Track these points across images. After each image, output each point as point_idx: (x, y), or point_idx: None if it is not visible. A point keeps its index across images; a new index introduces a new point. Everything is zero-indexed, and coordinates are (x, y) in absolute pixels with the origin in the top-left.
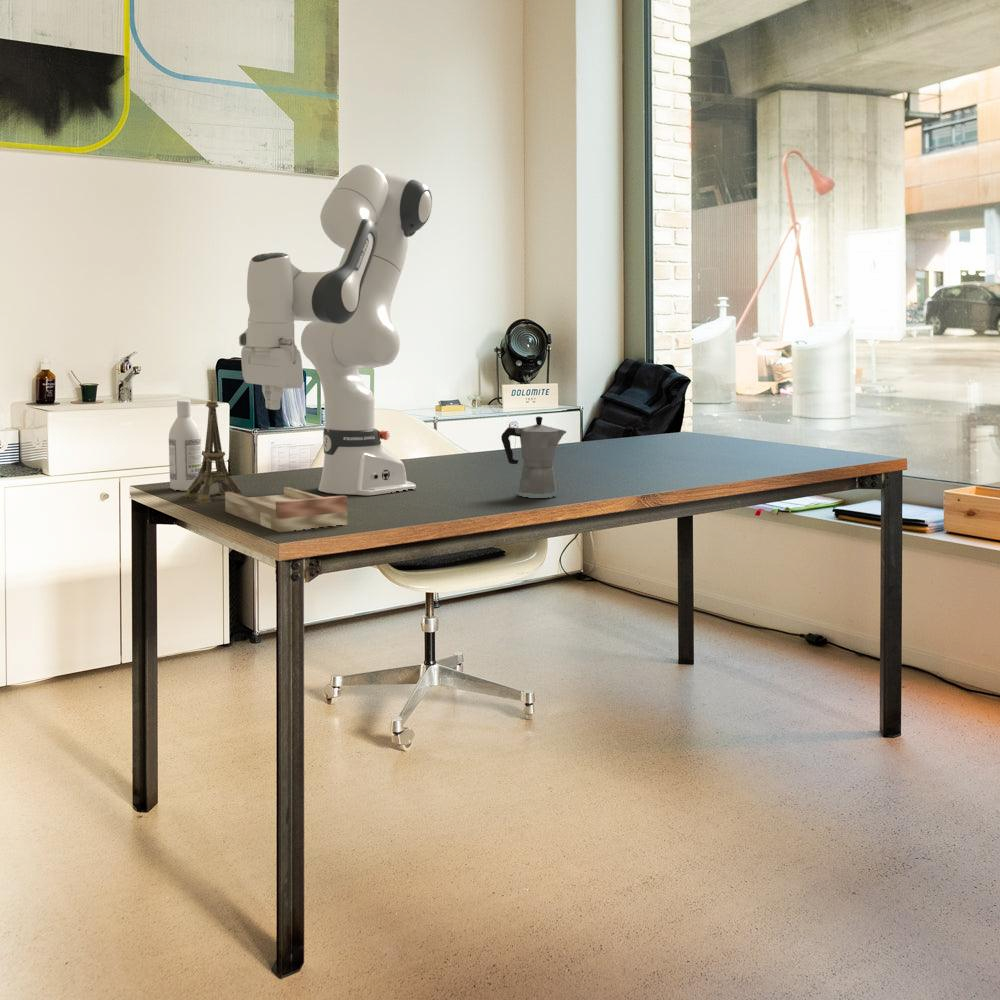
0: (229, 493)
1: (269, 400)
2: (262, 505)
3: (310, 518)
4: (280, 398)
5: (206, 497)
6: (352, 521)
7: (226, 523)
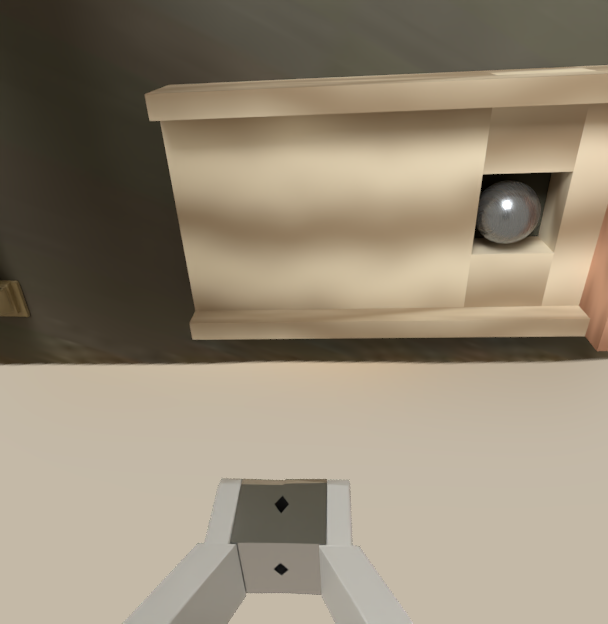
0: (225, 338)
1: (301, 592)
2: (484, 336)
3: None
4: (372, 568)
5: (5, 298)
6: (604, 2)
7: (376, 360)
